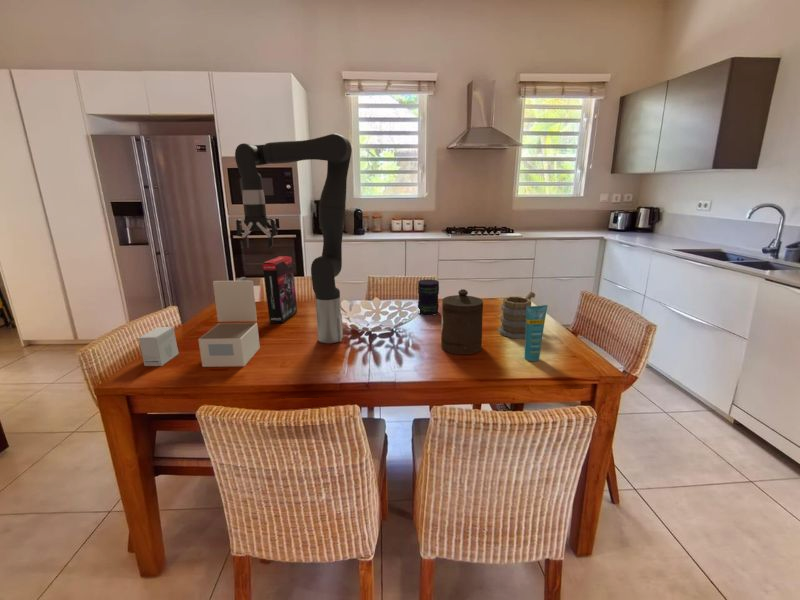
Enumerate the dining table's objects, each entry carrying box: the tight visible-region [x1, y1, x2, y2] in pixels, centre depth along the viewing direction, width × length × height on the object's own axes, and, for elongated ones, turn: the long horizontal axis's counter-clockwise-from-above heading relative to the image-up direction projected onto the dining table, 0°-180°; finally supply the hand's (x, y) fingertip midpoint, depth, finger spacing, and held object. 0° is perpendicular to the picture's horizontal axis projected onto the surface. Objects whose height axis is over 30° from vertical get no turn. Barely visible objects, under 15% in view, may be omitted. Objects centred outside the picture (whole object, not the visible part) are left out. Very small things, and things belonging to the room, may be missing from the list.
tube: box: [523, 304, 548, 362], centre depth 137 cm, size 7×5×19 cm, turn 103°
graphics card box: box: [262, 255, 298, 324], centre depth 181 cm, size 17×7×27 cm, turn 172°
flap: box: [212, 276, 258, 323], centre depth 150 cm, size 14×15×11 cm
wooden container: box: [440, 288, 484, 356], centre depth 147 cm, size 15×15×22 cm
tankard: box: [497, 291, 536, 339], centre depth 164 cm, size 20×13×15 cm, turn 131°
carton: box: [198, 322, 261, 368], centre depth 141 cm, size 14×16×10 cm
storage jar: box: [417, 279, 440, 316], centre depth 189 cm, size 10×10×15 cm
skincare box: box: [137, 326, 180, 367], centre depth 139 cm, size 10×6×10 cm, turn 178°
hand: (258, 247), depth 150 cm, fingers open, 8 cm apart
